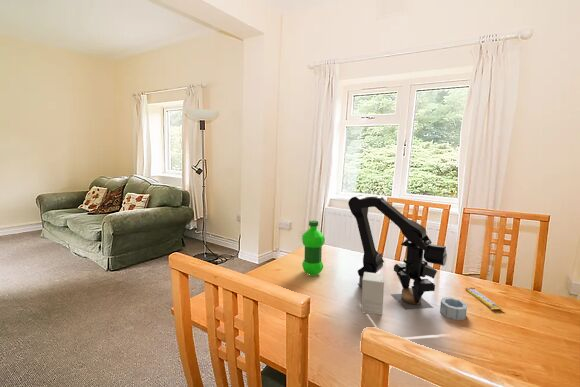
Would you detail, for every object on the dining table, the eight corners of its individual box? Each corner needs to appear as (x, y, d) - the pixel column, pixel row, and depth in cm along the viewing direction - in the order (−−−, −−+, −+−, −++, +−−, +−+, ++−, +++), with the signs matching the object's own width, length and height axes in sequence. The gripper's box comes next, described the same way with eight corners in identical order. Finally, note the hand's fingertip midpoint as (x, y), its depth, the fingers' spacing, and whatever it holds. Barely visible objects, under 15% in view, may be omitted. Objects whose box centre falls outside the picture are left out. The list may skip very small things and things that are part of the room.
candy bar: (463, 290, 120) (464, 286, 120) (473, 290, 120) (474, 286, 120) (492, 313, 104) (493, 308, 103) (503, 313, 104) (504, 308, 103)
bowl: (450, 322, 97) (451, 309, 96) (435, 309, 105) (436, 298, 104) (471, 320, 98) (472, 308, 97) (455, 308, 106) (456, 296, 105)
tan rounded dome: (407, 304, 106) (408, 297, 105) (397, 295, 113) (398, 288, 112) (425, 303, 107) (425, 296, 106) (414, 294, 114) (414, 287, 113)
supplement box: (382, 306, 107) (384, 273, 105) (382, 316, 100) (384, 282, 98) (362, 302, 109) (364, 271, 107) (360, 312, 102) (362, 279, 100)
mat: (405, 310, 104) (405, 309, 104) (390, 295, 114) (390, 294, 114) (433, 308, 105) (433, 307, 105) (416, 294, 116) (416, 292, 116)
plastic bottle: (297, 274, 133) (298, 222, 129) (308, 267, 142) (309, 217, 138) (317, 280, 128) (318, 225, 124) (326, 271, 137) (328, 220, 133)
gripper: (451, 267, 99) (446, 309, 101) (419, 249, 117) (417, 285, 120) (421, 269, 98) (417, 311, 100) (394, 250, 116) (391, 286, 118)
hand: (411, 297), depth 110 cm, fingers closed on tan rounded dome, 7 cm apart
